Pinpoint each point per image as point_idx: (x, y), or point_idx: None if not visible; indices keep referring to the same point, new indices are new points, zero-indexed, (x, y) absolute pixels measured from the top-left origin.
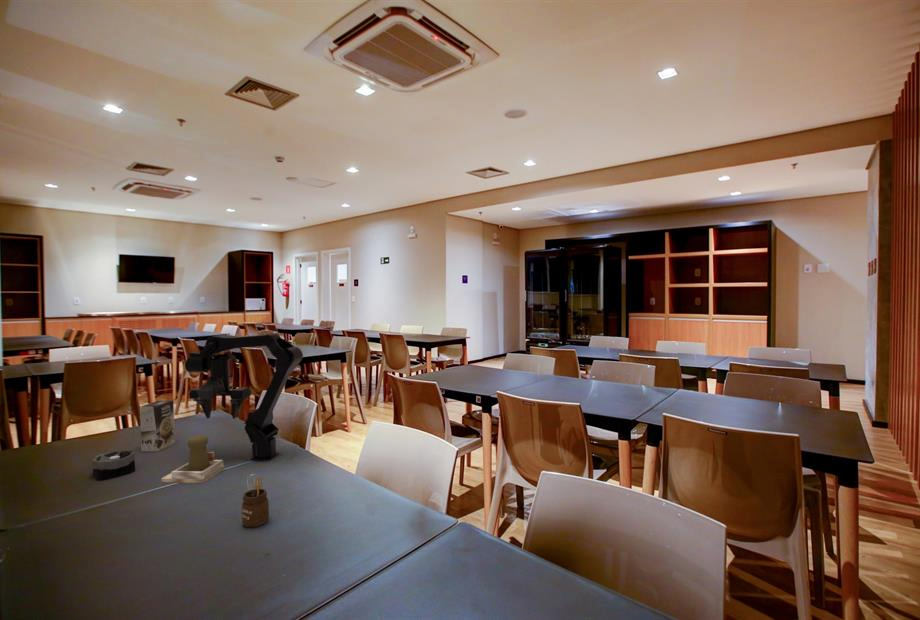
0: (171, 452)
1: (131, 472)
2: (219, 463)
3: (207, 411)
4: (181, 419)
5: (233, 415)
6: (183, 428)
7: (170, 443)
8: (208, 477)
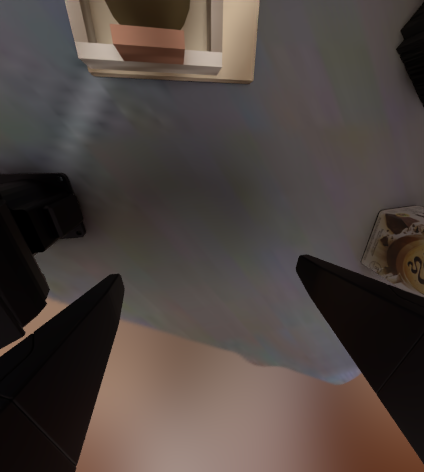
0: (346, 209)
1: (405, 27)
2: (71, 22)
3: (335, 286)
4: None
5: (97, 288)
6: None
7: (369, 251)
8: None
